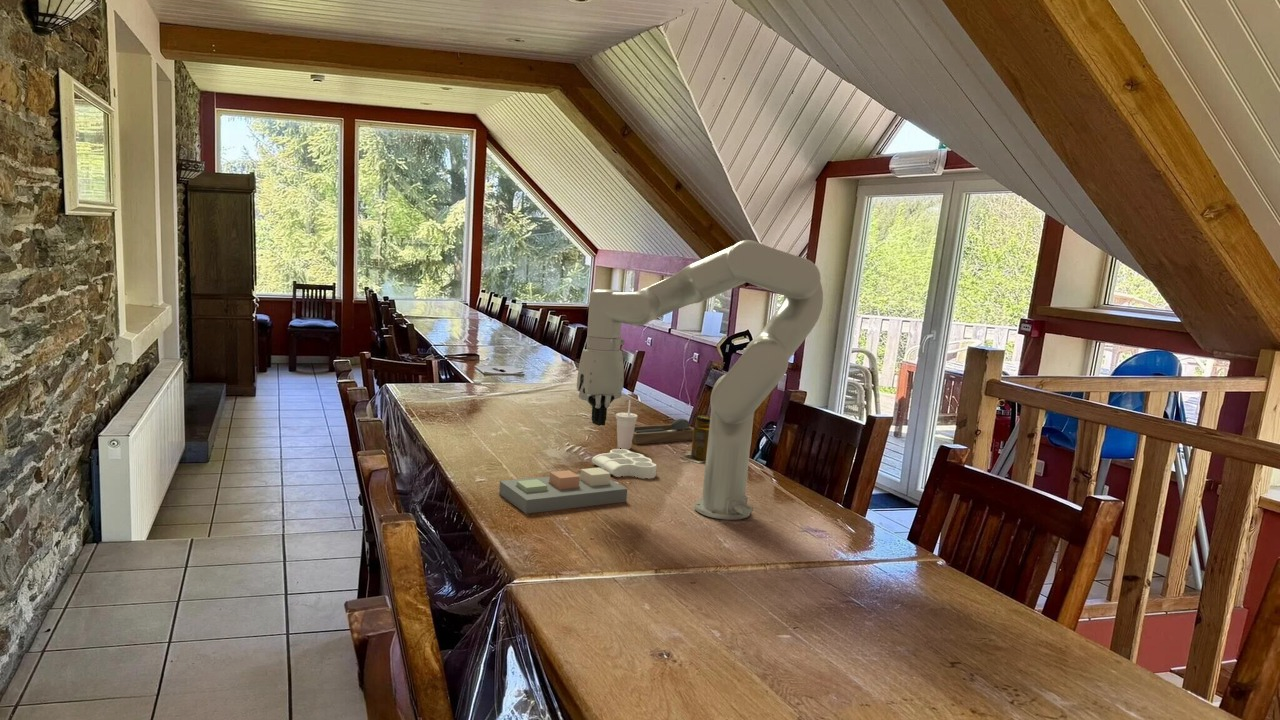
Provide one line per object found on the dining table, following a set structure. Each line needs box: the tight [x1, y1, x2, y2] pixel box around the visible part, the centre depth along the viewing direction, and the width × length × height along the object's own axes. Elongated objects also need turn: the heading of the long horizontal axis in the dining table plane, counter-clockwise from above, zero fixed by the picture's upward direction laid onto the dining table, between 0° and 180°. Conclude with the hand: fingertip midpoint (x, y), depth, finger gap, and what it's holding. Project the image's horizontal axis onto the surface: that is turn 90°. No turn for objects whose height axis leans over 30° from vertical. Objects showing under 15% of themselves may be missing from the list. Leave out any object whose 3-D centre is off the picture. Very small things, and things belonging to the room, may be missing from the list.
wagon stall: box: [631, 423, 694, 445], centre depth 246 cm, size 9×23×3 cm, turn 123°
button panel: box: [498, 472, 628, 515], centre depth 181 cm, size 14×25×3 cm, turn 123°
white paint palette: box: [591, 448, 657, 479], centre depth 209 cm, size 3×18×15 cm
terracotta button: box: [549, 469, 580, 490], centre depth 181 cm, size 5×5×4 cm
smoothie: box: [615, 399, 639, 450], centre depth 230 cm, size 6×6×14 cm
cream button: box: [580, 466, 611, 486], centre depth 186 cm, size 5×5×4 cm
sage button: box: [517, 479, 547, 493], centre depth 177 cm, size 5×5×4 cm
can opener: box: [634, 418, 690, 433], centre depth 245 cm, size 19×5×6 cm, turn 124°
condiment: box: [679, 414, 711, 464], centre depth 226 cm, size 7×8×12 cm
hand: (598, 424), depth 183 cm, fingers closed
